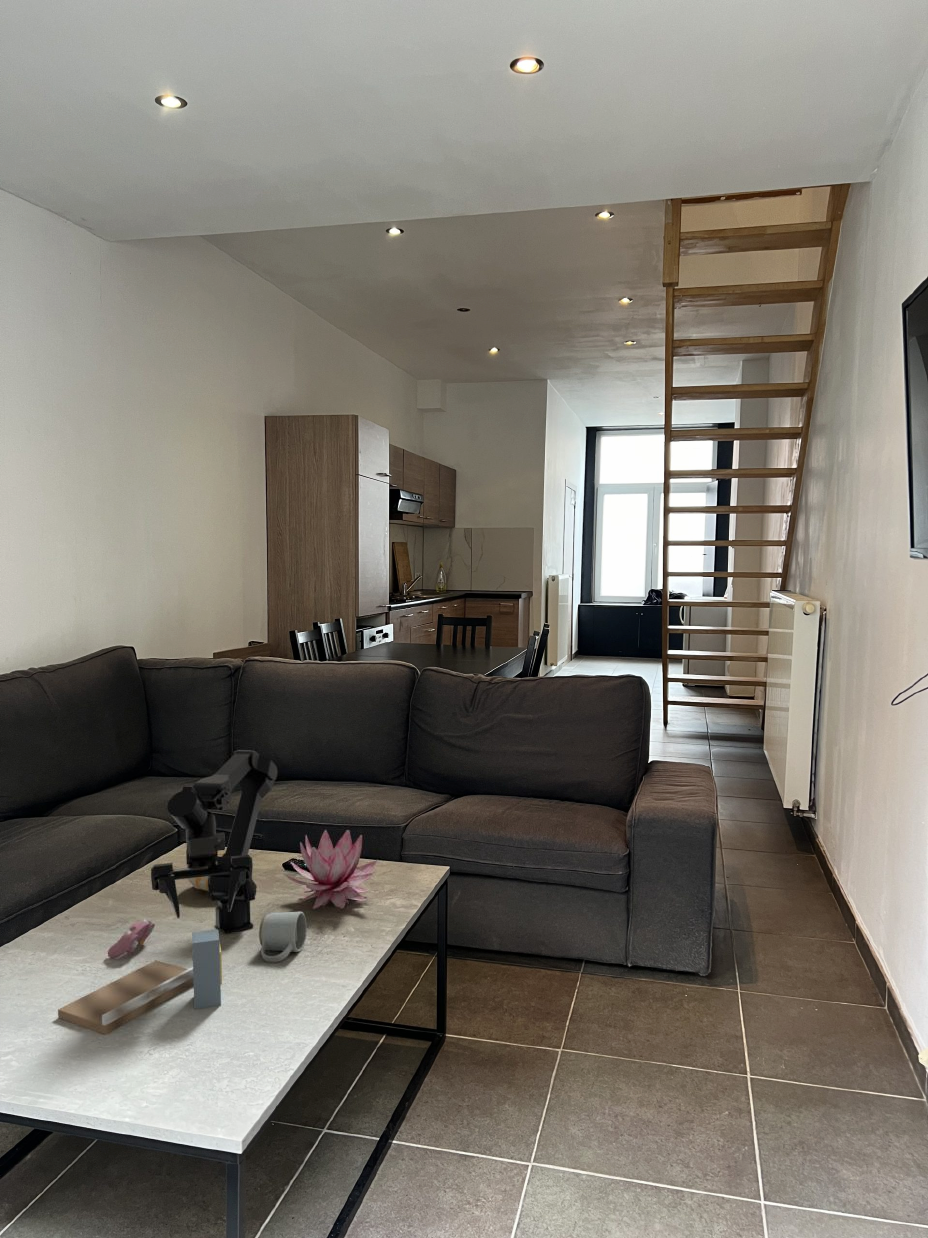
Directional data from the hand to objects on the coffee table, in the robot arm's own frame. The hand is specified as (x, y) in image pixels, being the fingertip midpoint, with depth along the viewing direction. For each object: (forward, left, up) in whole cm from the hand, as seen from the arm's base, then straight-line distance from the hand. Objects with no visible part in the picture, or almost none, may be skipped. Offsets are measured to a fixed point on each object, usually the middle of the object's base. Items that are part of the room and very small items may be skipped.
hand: (204, 914), depth 168 cm
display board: (+13, -2, -13) cm, 19 cm away
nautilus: (-19, -50, -14) cm, 55 cm away
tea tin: (+2, +7, -13) cm, 15 cm away
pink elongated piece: (+8, -24, -14) cm, 28 cm away
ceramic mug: (-17, -5, -14) cm, 22 cm away
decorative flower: (-37, -24, -14) cm, 47 cm away
